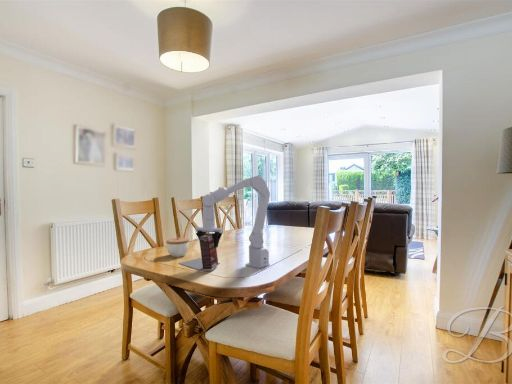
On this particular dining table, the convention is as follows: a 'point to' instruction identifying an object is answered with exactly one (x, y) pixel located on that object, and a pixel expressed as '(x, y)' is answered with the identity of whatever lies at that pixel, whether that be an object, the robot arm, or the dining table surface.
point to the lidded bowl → (177, 246)
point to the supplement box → (208, 252)
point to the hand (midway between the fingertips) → (209, 246)
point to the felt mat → (194, 264)
